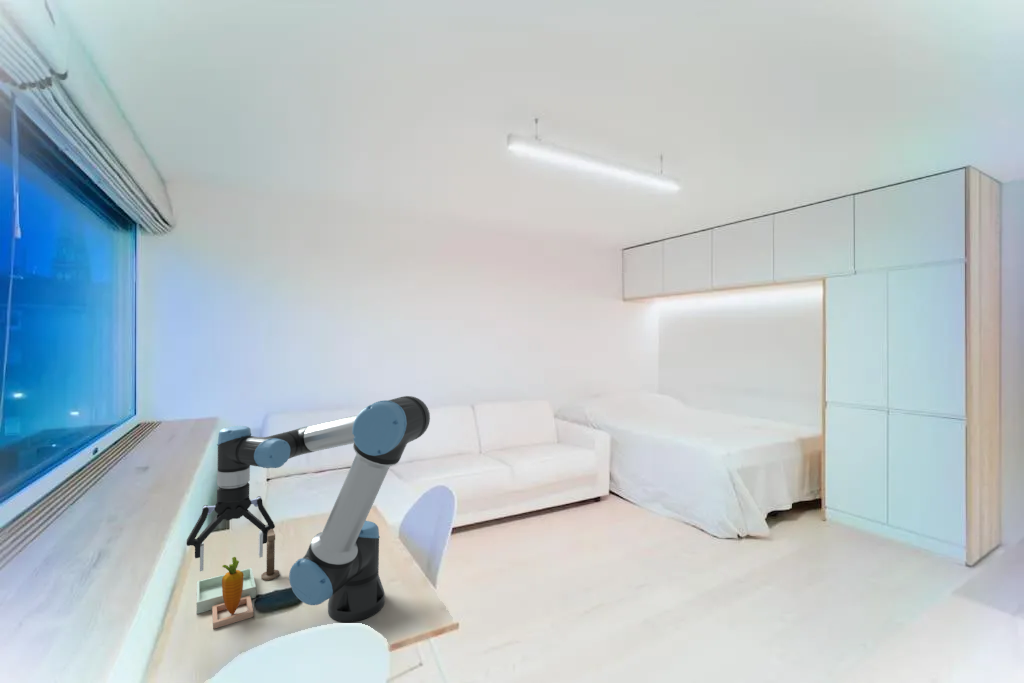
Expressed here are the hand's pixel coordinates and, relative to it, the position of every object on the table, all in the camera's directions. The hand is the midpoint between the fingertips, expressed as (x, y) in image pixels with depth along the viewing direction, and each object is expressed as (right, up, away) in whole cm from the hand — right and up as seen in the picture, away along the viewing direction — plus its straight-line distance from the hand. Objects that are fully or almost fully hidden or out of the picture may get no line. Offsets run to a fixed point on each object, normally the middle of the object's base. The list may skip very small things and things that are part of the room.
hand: (231, 561), depth 121 cm
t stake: (-1, -14, +20) cm, 25 cm away
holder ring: (0, -14, 0) cm, 14 cm away
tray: (-8, -14, +9) cm, 18 cm away
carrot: (0, -14, 0) cm, 14 cm away
